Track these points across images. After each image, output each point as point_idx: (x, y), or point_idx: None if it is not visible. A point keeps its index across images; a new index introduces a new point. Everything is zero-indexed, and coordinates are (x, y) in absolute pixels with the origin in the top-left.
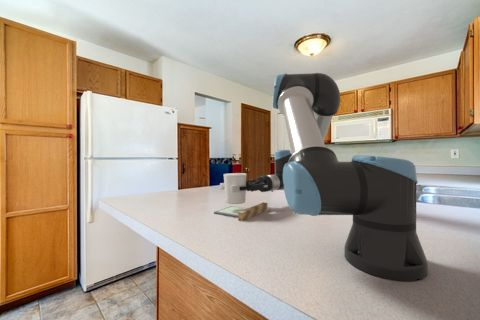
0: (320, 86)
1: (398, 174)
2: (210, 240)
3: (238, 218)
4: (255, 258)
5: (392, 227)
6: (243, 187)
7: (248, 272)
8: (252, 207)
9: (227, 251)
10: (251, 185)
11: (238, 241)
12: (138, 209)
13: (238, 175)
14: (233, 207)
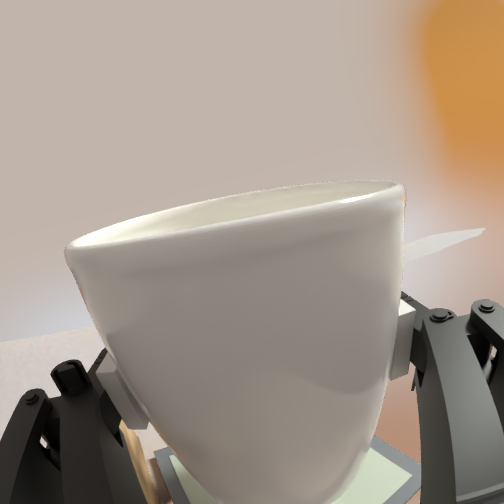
0: None
1: None
2: (93, 344)
3: (134, 433)
4: (12, 359)
5: None
6: (98, 363)
7: (13, 344)
8: None
9: (48, 348)
10: (31, 390)
11: (48, 368)
12: (409, 255)
13: (105, 232)
14: (375, 480)
